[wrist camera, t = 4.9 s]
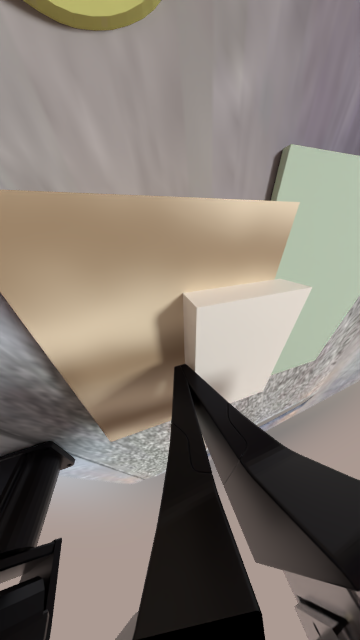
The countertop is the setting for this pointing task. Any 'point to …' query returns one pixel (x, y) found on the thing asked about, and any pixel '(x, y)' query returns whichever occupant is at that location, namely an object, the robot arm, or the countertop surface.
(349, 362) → the countertop surface
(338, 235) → the mat
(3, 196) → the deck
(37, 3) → the key
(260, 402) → the countertop surface
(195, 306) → the white flat block
